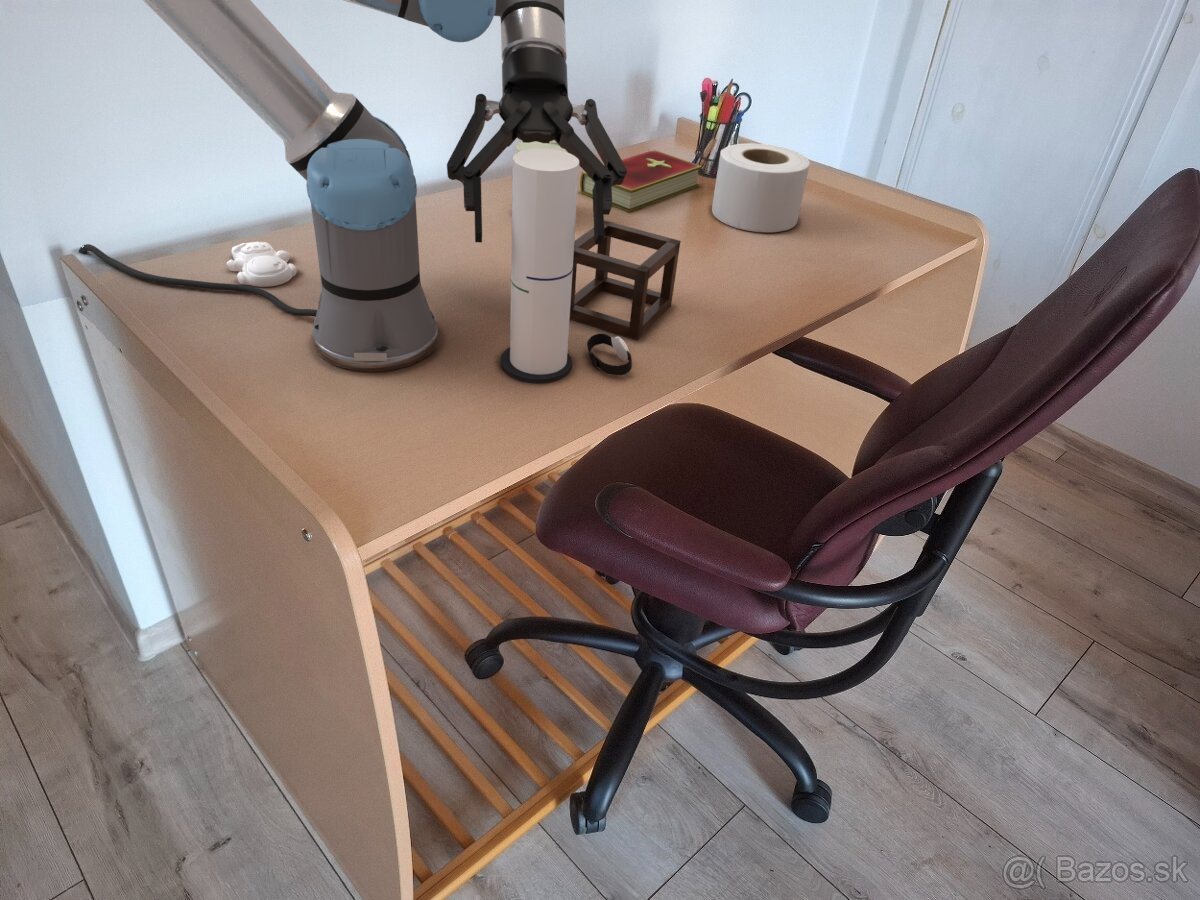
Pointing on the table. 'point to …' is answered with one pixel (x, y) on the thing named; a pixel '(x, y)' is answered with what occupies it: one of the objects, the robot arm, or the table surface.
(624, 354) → the watch
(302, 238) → the table surface
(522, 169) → the cylindrical container
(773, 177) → the white paper roll
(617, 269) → the rack
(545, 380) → the coaster
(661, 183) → the hardcover book
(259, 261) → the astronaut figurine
